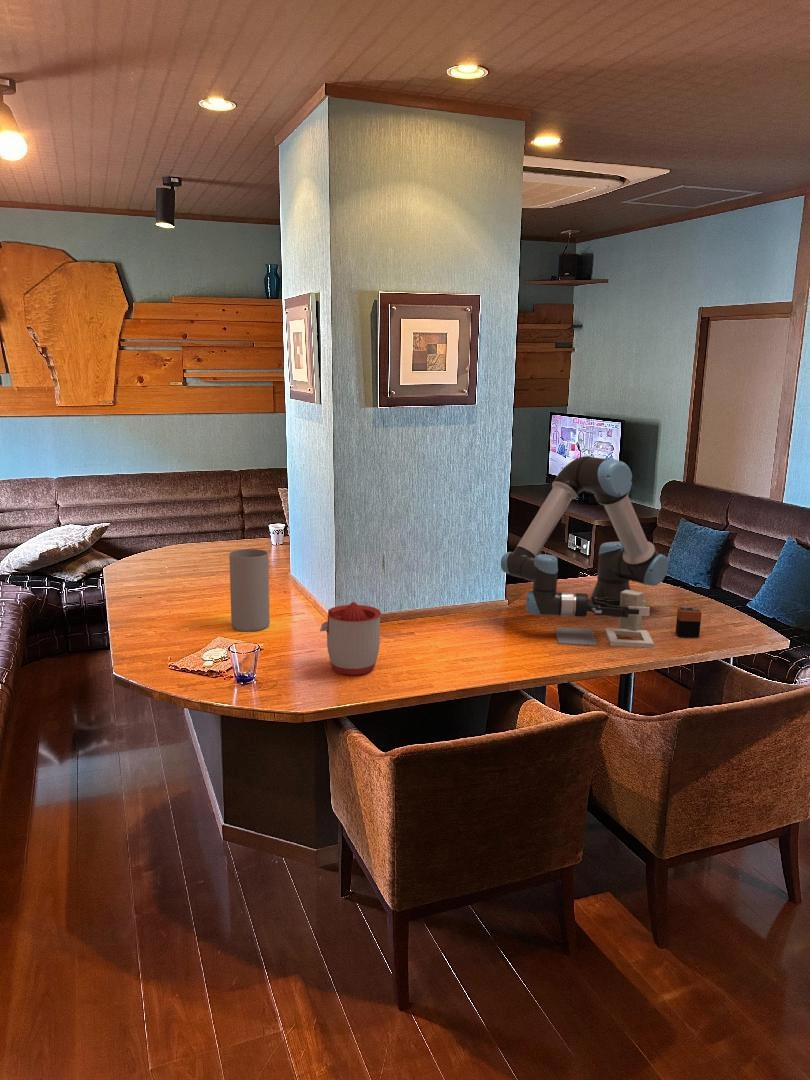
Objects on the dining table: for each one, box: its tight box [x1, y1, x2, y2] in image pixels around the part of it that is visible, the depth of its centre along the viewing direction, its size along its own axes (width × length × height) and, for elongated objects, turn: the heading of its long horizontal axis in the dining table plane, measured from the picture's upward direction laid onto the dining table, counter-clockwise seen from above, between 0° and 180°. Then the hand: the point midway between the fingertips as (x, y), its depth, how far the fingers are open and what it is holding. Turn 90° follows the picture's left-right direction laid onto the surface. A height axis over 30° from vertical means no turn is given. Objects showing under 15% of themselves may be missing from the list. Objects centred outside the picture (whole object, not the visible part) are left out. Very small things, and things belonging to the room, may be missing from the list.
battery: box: [675, 605, 702, 639], centre depth 267 cm, size 4×7×10 cm, turn 85°
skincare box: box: [618, 589, 644, 631], centre depth 260 cm, size 6×4×12 cm
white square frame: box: [604, 627, 655, 649], centre depth 262 cm, size 13×13×2 cm
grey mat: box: [554, 626, 598, 647], centre depth 264 cm, size 16×12×1 cm
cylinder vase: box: [228, 548, 271, 632], centre depth 267 cm, size 12×12×25 cm
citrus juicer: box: [319, 601, 382, 676], centre depth 231 cm, size 16×17×20 cm
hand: (647, 608), depth 260 cm, fingers closed on skincare box, 7 cm apart
